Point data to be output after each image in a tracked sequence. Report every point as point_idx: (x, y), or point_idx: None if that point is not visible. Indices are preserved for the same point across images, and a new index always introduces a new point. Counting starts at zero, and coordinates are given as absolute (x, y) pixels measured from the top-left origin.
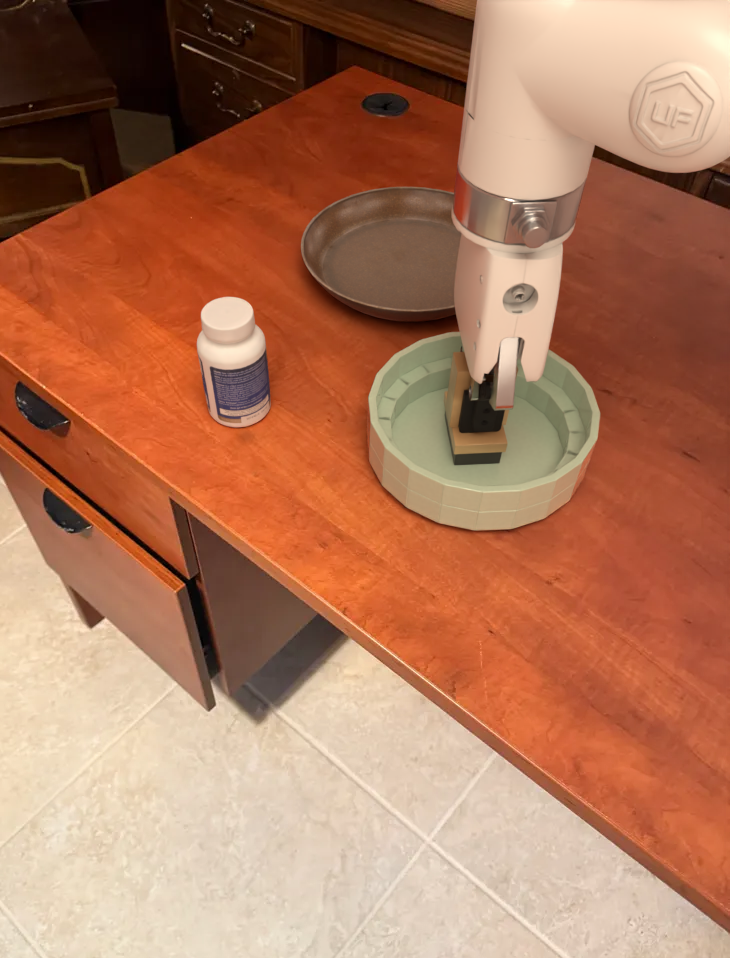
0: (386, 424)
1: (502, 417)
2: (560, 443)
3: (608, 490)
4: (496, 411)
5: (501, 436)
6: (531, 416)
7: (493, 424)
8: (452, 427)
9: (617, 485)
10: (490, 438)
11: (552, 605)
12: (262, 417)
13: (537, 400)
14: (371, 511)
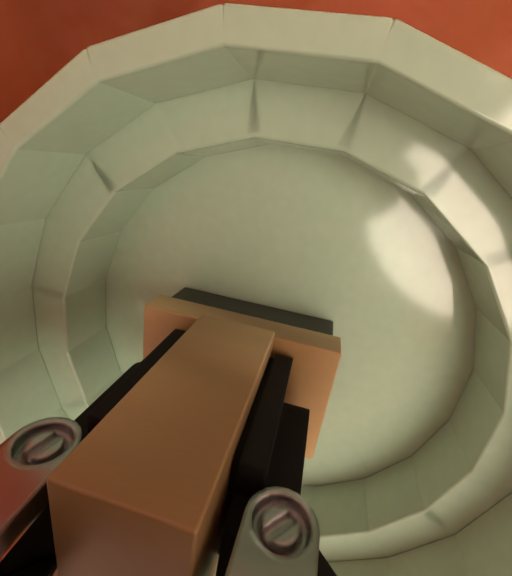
0: None
1: (286, 387)
2: (311, 151)
3: (507, 62)
4: (303, 464)
5: (312, 357)
6: (208, 193)
7: (307, 419)
8: None
9: (501, 23)
10: (311, 383)
11: None
12: None
13: (170, 172)
14: None
